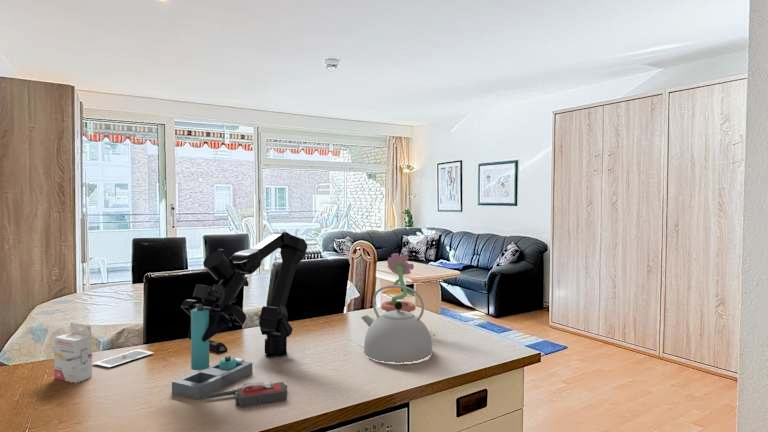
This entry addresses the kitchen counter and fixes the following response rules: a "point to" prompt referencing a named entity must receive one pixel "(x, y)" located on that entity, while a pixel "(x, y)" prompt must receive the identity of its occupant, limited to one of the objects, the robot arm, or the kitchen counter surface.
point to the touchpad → (122, 358)
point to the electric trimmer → (217, 346)
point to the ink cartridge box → (74, 354)
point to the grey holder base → (212, 378)
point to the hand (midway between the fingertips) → (196, 339)
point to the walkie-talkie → (256, 393)
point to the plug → (199, 338)
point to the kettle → (397, 334)
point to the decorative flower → (400, 268)
